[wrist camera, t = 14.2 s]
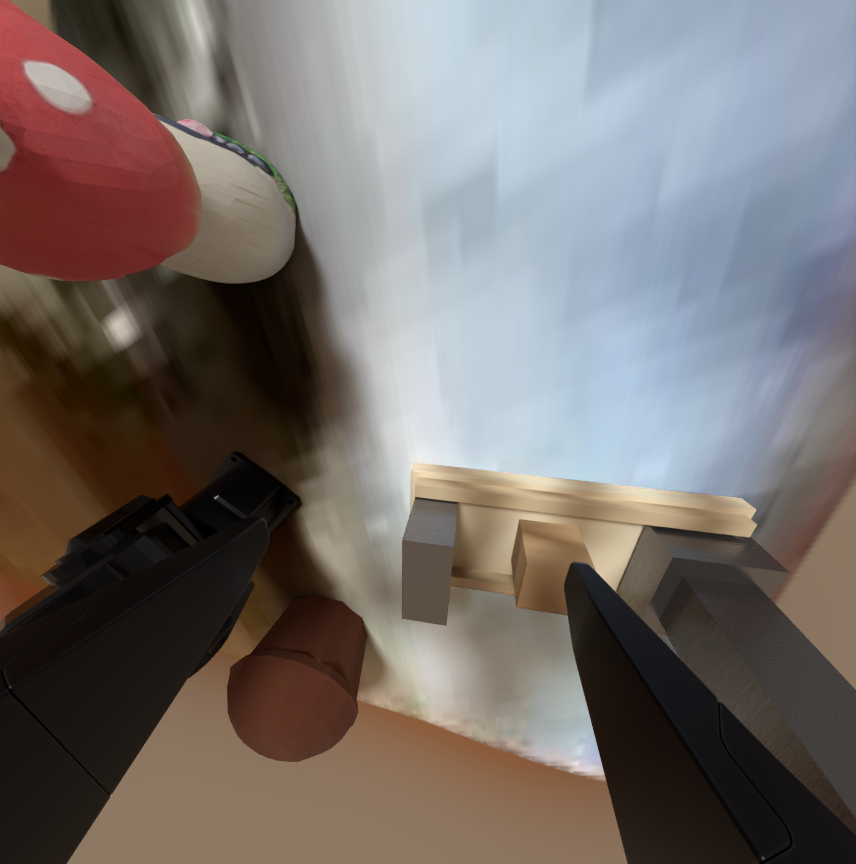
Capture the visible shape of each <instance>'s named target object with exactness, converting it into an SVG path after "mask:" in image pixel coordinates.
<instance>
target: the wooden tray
mask: <svg viewBox="0 0 856 864" xmlns="http://www.w3.org/2000/svg"><path fill="white" fill-rule="evenodd" d="M415 497H421V498H429V499H437V500H445V501H454V502H458V509H457V520H456V531H455V542H454V552H453V563H452V573H451V583H450V586H456V587H463V588H469V589H476V590H482V591H489V592H496V593H502V594H509V595H515V590H514V581H513V573H512V565H511V557H512V552H513V547H514V542H515V537H516V533H517V528H518V523H519V519H523V520H531V521H539V522H547V523H555V524H563V525H571V526H578V529H579V531H580V534H581V536H582V538H583V541H584V543H585V546H586V548H587V550H588V553H589V555H590V557H591V560H592V562H593V565H594V567H595V569H596V572H597V573H598V574H599V575H600V576H601V577H602V578H603V579H604V580H605V581H606V582H607V583H608V584H609V585H610V586H611V587H612V589H613V590H614V591H615V592H616V593H617V594H618V595H619V592H618V589H619V587H620V584H621V582H622V580H623V577H624V575H625V573H626V570H627V568H628V566H629V563H630V561H631V559H632V557H633V554H634V552H635V550H636V547H637V545H638V543H639V540H640V538H641V536H642V533H643V531H644V529H645V526H646V525H652V526H660V527H668V528H676V529H685V530H693V531H701V532H709V533H718V534H726V535H734V536H742V537H750V536H751V534H752V532H753V531H754V529H755V528H756V526H757V524H756V523H755V522H753V521H752V520H751V518H752V516H753V515H754V513H755V511H756V509H755V508H753V507H752V506H751V505H750V504H748V503H747V502H746V501H745V500H743V499H742V498H734V497H725V496H716V495H707V494H698V493H688V492H679V491H670V490H661V489H652V488H642V487H633V486H624V485H615V484H606V483H596V482H587V481H578V480H569V479H560V478H550V477H541V476H532V475H523V474H514V473H504V472H495V471H486V470H477V469H468V468H458V467H449V466H440V465H431V464H422V463H414V464H413V467H412V470H411V495H410V513H411V509H412V506H413V503H414V499H415ZM619 596H620V595H619Z"/></svg>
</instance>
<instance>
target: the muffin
mask: <svg viewBox="0 0 856 864" xmlns="http://www.w3.org/2000/svg"><path fill="white" fill-rule="evenodd" d="M366 639H367V634H366V632H365V629H364V627H363V620H362V617H360V616H359V615H357V614H356V613H355V612H353V611H352V610H351V609H350V608H348V607H347V606H346V605H345V604H344V603H343V602H341V601H336V600H332V599H328V598H325V597H322V596H319V595H313V596H309V597H306V598H298V599H294V600H293V602H292V603H291V604H290V605H289V607H288V608H287V609H286V610H285V611H284V613H283V614H282V615H281V616H280V618H279V619H278V620H277V621H276V623H275V624H274V625H273V626H272V628H271V629H270V630H269V631H268V633H267V634H266V635H265V636H264V638H263V639H262V640H261V641H260V643H259V644H258V645H257V646H256V648H255V649H254V650H253V651H252V653H251V654H249V655H247V656H245V657H243V658H242V659H241V660H239V661H238V662H237V663H235V664H234V665H233V666H231V667H230V676H229V681H228V686H227V697H228V698H227V699H228V714H229V717H230V721H231V723H232V725H233V727H234V729H235V731H236V733H237V735H238V736H239V738H240V739H241V740H242V741H243V743H244V744H246V745H247V746H249V747H250V748H251V749H253V750H254V751H255V752H257V753H258V754H260V755H263V756H265V757H267V758H270V759H274V760H278V761H288V762H298V761H301V760H304V759H307V758H310V757H313V756H315V755H318V754H321V753H323V752H325V751H327V750H329V749H331V748H332V747H333V746H334V745H335V744H336V743H338V742H339V741H340V740H341V739H342V738H343V736H344V735H345V734H346V732H347V731H348V730H349V728H350V727H351V726H352V725H353V724H354V721H355V719H356V716H357V714H358V705H357V694H358V688H359V681H360V675H361V669H362V663H363V657H364V651H365V645H366Z"/></svg>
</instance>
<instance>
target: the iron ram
mask: <svg viewBox="0 0 856 864" xmlns="http://www.w3.org/2000/svg"><path fill="white" fill-rule="evenodd" d="M788 574H789V572H788V571H787V570H786V569H785V568H784V567H783V566H782V565H781V564H780V563H779V562H777V561H776V560H775V559H774V558H773V557H772V556H771V555H770V554H769V553H768V552H766V551H765V550H764V549H763V548H762V547H761V546H760V545H759V544H758V543H757V542H756V541H754V540H753V539H752V538H751V537H742V536H734V535H726V534H718V533H709V532H701V531H693V530H685V529H676V528H668V527H660V526H652V525H646V526H645V529H644V531H643V533H642V536H641V538H640V540H639V543H638V545H637V547H636V550H635V552H634V554H633V557H632V559H631V561H630V563H629V566H628V568H627V570H626V573H625V575H624V577H623V580H622V582H621V584H620V587H619V589H618V592H619V595H620V597H621V598H622V599H623V600H624V601H625V602H626V603H627V604H628V605H629V606H630V607H631V608H632V609H633V610H634V611H635V612H636V613H637V614H638V616H639V617H640V618H641V619H642V620H643V621H644V622H645V623H646V624H647V625H648V626H649V627H650V628H651V629H652V630H653V631H654V632H655V633H658V634H664V635H667V636H668V637H669V639H670V641H671V643H672V645H673V647H674V648H675V650H676V652H677V654H678V656H679V658H680V659H681V660H682V661H683V662H684V663H685V664H686V665H687V666H688V667H689V669H690V670H691V671H692V672H693V673H694V674H695V675H696V676H697V677H698V678H699V679H700V680H701V681H702V682H703V683H704V684H705V685H706V686H707V687H708V688H709V689H710V690H711V691H712V692H713V693H714V695H715V696H716V697H717V698H718V701H721V702H722V703H723V704H724V705H725V706H726V707H727V708H728V709H729V710H730V711H731V712H732V713H733V714H734V715H735V716H736V717H737V718H738V719H739V720H740V721H741V722H742V723H743V724H744V725H745V726H746V727H747V728H748V729H749V730H750V731H751V732H752V733H753V735H754V736H755V737H756V738H757V739H758V740H759V741H760V742H761V743H762V744H763V745H764V746H765V747H766V748H767V749H768V750H769V751H770V752H771V753H772V754H773V755H774V756H775V757H776V758H777V759H778V760H779V761H781V762H782V763H783V764H784V765H785V766H786V767H787V768H788V769H789V770H790V771H791V772H792V773H793V774H794V775H795V776H796V777H797V778H798V779H799V780H800V781H801V782H802V783H803V784H804V785H805V786H807V787H808V788H809V789H810V790H811V791H812V792H813V793H814V794H815V795H816V796H817V797H818V798H819V799H820V800H821V801H822V802H823V803H824V804H825V805H827V806H828V807H829V808H830V809H831V810H832V811H833V812H834V813H835V814H836V815H837V816H838V817H839V818H840V819H841V820H842V821H844V822H845V823H846V824H847V825H848V826H849V827H850V828H851V829H852V830H853V831H854V832H855V833H856V690H855V689H854V688H853V687H852V686H851V684H850V683H849V682H848V681H847V680H846V679H845V678H844V677H843V676H842V675H841V674H840V673H839V672H838V671H837V670H836V668H834V667H833V665H832V664H831V663H830V662H829V661H828V660H827V659H826V658H825V657H824V656H823V655H822V654H821V653H820V651H818V649H817V648H816V647H815V646H814V645H813V644H812V643H811V642H810V641H809V640H808V639H807V638H806V637H805V636H804V635H803V633H802V632H801V631H800V630H799V629H798V628H797V627H796V626H795V625H794V624H793V623H792V622H791V621H790V620H789V619H788V617H787V616H786V615H784V613H783V612H782V611H781V610H780V609H779V608H778V607H777V606H776V605H775V604H774V603H773V601H772V600H771V599H770V598H771V597H772V595H773V594H774V593H775V591H776V590H777V589H778V587H779V586H780V585H781V583H782V582H783V581H784V579H785V578H786V577H787V575H788Z"/></svg>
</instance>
